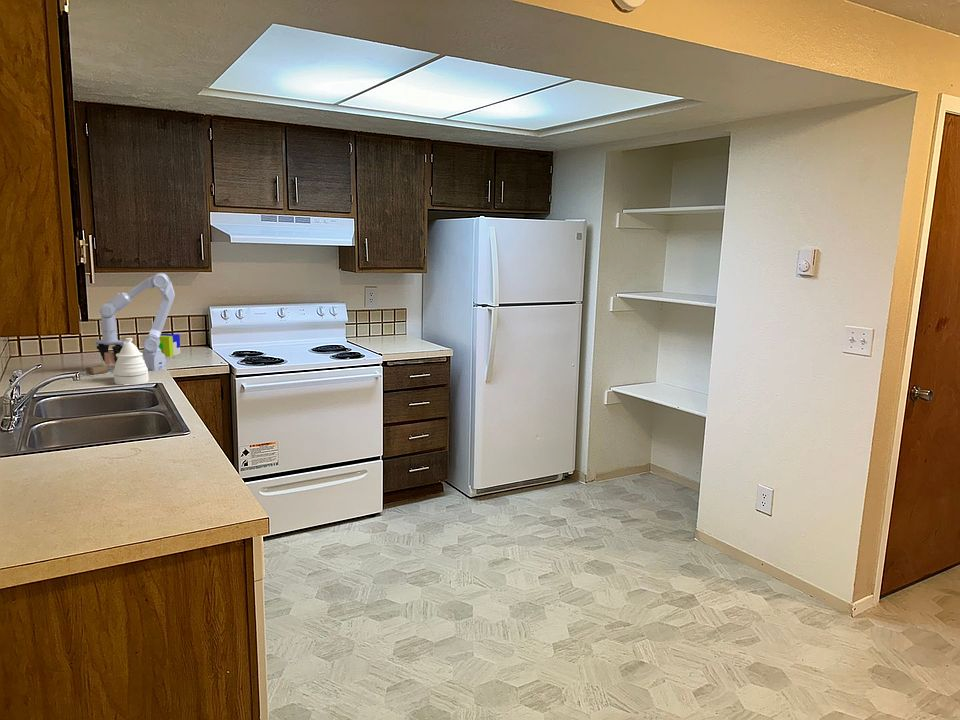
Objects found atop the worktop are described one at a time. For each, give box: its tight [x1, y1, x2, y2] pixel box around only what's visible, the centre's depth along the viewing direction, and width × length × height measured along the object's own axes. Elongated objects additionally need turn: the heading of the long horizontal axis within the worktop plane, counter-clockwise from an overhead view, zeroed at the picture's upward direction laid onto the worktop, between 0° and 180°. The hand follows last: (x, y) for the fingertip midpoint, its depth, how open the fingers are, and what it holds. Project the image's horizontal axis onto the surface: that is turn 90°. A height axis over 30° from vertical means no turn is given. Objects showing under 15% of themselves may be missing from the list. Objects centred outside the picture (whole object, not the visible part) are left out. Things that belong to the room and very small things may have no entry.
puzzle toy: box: [158, 333, 181, 358], centre depth 343 cm, size 10×10×10 cm
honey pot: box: [113, 337, 150, 386], centre depth 280 cm, size 13×13×18 cm
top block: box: [104, 350, 116, 365], centre depth 297 cm, size 4×4×5 cm
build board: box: [79, 366, 115, 378], centre depth 295 cm, size 12×18×1 cm, turn 149°
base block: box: [85, 364, 108, 375], centre depth 290 cm, size 6×6×3 cm
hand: (111, 361), depth 298 cm, fingers closed on top block, 5 cm apart
